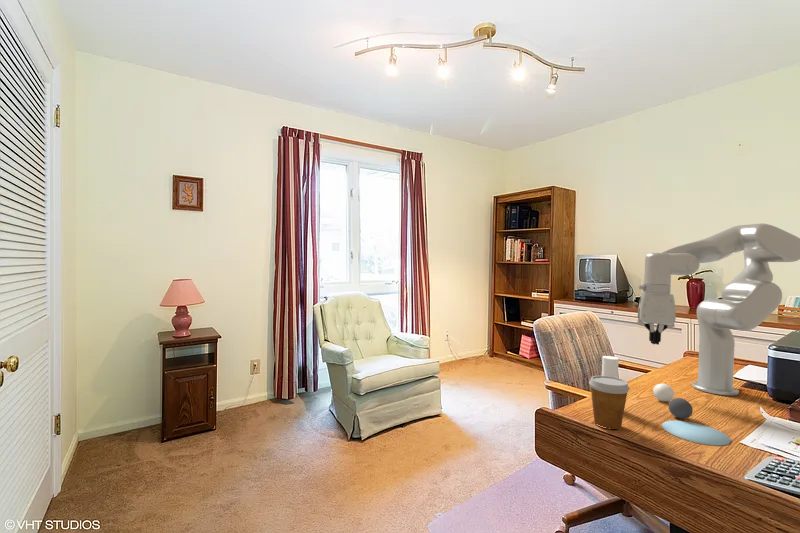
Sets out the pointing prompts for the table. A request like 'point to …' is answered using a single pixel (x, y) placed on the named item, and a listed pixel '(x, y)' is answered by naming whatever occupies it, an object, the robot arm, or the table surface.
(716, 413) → the table surface
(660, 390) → the cue ball
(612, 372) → the tube
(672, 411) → the object ball
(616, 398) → the disposable coffee cup
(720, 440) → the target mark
